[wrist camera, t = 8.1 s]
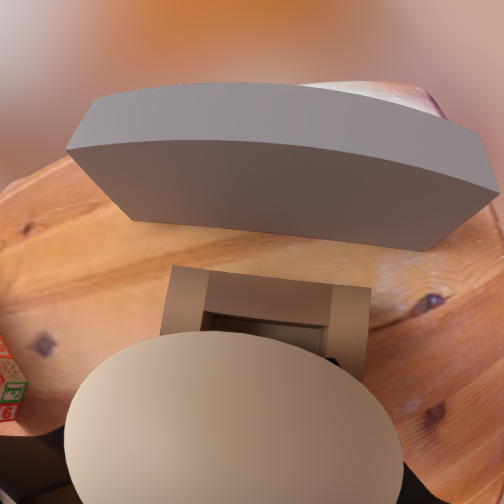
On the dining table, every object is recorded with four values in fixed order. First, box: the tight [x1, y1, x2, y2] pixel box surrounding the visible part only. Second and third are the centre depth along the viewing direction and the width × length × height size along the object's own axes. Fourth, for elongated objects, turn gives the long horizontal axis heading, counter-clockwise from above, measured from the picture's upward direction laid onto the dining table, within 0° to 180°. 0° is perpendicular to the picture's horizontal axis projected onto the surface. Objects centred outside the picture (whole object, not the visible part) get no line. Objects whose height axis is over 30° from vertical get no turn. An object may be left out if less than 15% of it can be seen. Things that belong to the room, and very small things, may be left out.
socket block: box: [160, 265, 371, 384], centre depth 13 cm, size 10×10×4 cm
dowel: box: [64, 331, 404, 504], centre depth 8 cm, size 4×4×13 cm
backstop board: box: [65, 82, 500, 252], centre depth 15 cm, size 4×22×9 cm, turn 82°
